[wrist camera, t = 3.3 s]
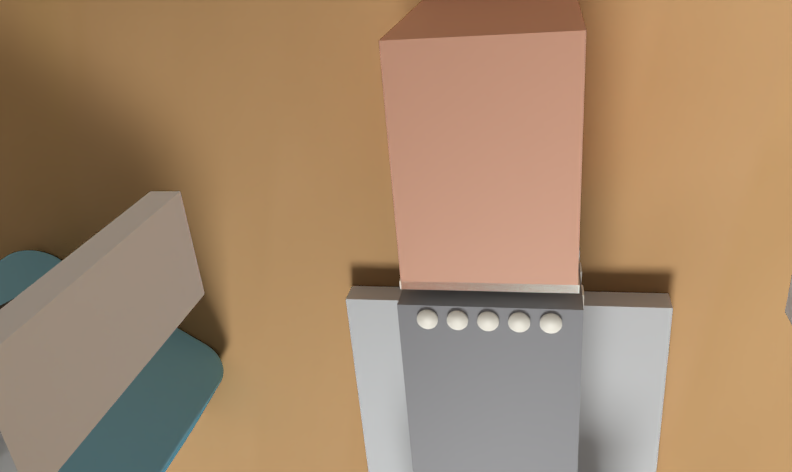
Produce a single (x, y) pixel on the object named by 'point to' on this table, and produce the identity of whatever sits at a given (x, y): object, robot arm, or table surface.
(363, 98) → the table surface
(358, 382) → the grey flanged post
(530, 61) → the pink block
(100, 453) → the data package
